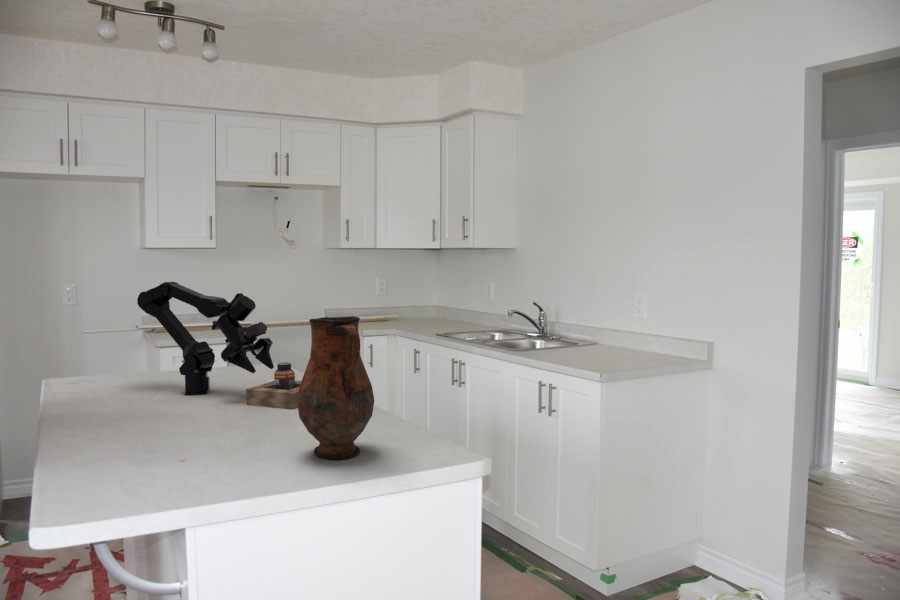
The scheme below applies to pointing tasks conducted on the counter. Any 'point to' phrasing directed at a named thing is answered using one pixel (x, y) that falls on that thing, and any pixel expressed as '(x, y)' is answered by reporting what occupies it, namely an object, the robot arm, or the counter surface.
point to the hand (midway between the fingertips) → (263, 370)
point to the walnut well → (273, 396)
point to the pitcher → (335, 388)
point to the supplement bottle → (284, 376)
